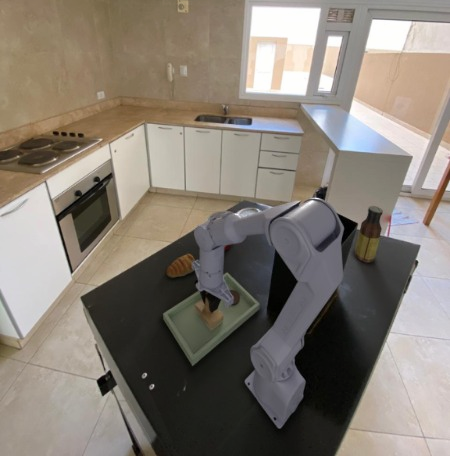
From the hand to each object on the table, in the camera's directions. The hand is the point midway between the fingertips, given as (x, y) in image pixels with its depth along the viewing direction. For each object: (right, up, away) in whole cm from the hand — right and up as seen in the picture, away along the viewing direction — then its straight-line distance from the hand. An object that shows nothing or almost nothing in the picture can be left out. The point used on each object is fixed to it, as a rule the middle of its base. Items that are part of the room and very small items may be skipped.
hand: (210, 305), depth 65 cm
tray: (0, -4, +2) cm, 4 cm away
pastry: (-10, +2, +16) cm, 19 cm away
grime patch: (+6, -2, +6) cm, 9 cm away
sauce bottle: (+53, +2, +25) cm, 58 cm away
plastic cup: (+3, +6, +27) cm, 28 cm away
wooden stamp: (-1, -4, +1) cm, 4 cm away
